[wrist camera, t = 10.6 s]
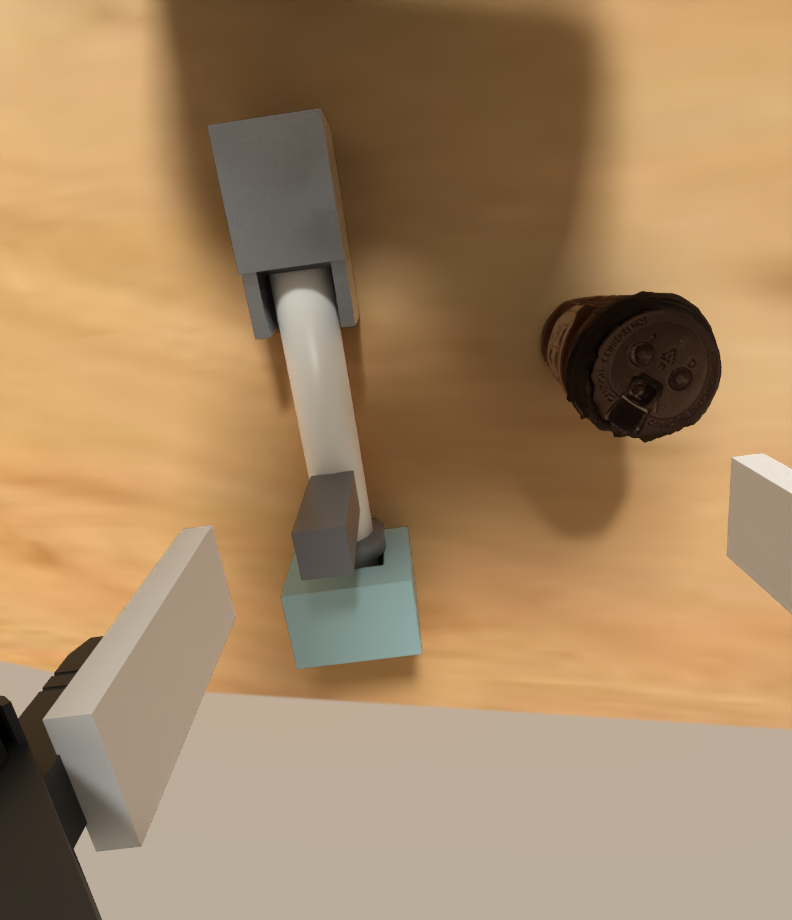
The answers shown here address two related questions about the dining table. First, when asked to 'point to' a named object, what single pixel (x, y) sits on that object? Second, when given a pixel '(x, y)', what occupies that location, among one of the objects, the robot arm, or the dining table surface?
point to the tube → (324, 431)
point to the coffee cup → (634, 361)
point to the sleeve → (283, 207)
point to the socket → (355, 610)
